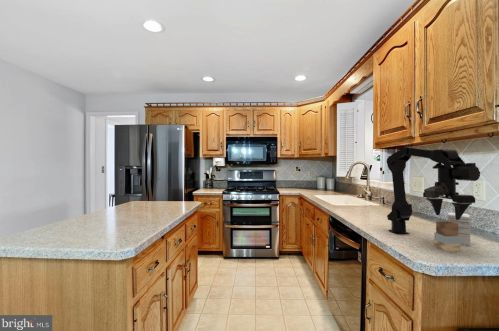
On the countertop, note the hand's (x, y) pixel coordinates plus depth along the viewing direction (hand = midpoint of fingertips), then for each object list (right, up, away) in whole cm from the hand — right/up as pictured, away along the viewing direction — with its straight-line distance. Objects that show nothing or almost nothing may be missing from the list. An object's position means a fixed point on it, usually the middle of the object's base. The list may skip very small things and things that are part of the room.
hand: (447, 217), depth 99 cm
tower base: (0, -13, 0) cm, 13 cm away
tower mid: (0, -10, 0) cm, 10 cm away
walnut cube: (0, -7, 0) cm, 7 cm away
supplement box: (+11, -13, +7) cm, 18 cm away
